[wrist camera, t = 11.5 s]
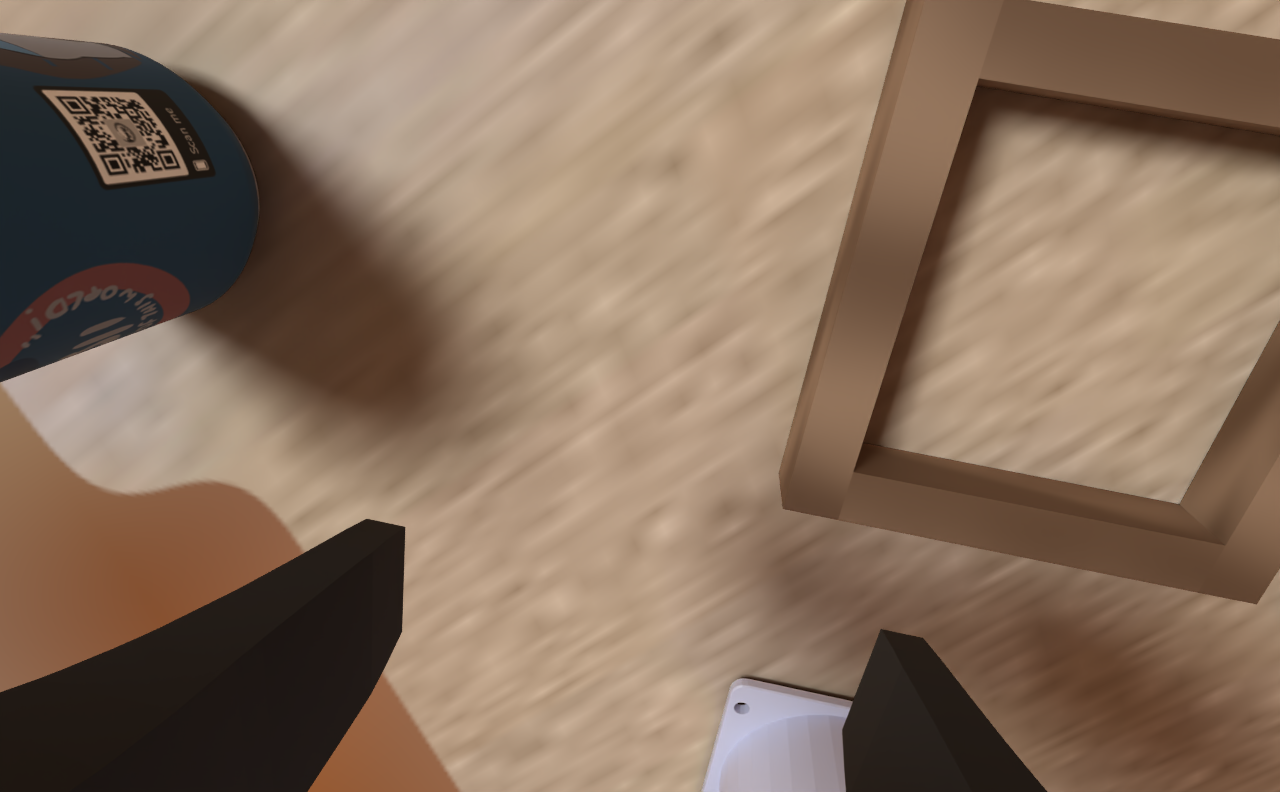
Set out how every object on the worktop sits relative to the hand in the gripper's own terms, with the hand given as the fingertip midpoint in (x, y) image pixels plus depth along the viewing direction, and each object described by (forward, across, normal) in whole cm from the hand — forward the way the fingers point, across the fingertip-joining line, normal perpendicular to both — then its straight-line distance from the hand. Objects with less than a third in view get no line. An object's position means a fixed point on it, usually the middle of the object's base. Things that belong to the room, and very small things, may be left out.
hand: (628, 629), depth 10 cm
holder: (+10, -10, -4) cm, 15 cm away
